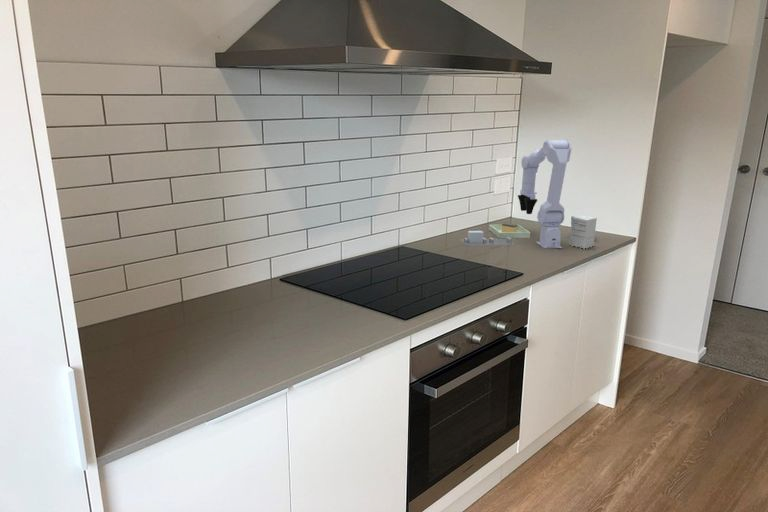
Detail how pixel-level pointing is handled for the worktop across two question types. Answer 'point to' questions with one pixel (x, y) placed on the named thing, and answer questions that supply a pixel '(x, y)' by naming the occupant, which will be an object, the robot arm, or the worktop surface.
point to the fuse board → (490, 241)
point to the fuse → (475, 236)
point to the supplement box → (583, 231)
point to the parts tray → (519, 234)
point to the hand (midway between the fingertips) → (526, 212)
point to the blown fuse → (509, 227)
